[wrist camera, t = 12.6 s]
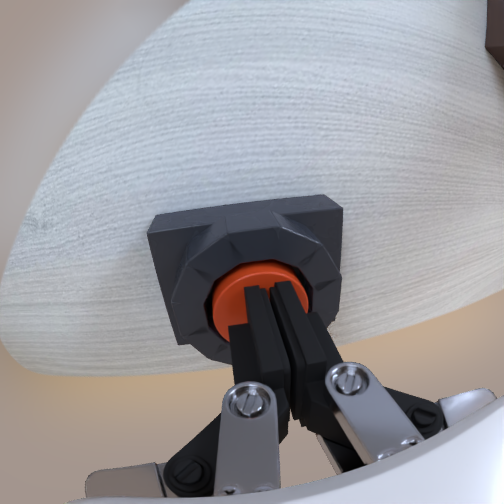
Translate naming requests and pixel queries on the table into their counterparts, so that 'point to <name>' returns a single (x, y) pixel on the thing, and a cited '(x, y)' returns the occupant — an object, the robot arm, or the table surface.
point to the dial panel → (495, 30)
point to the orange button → (243, 275)
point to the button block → (244, 258)
